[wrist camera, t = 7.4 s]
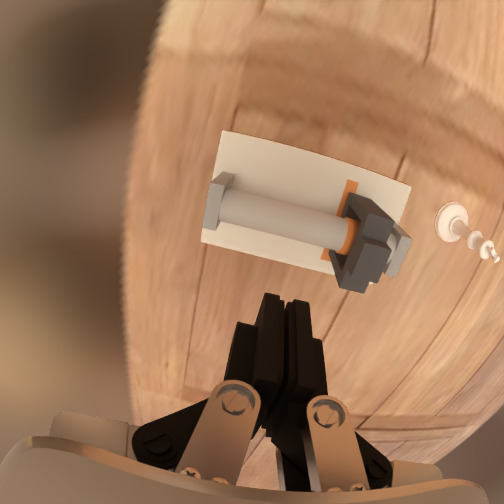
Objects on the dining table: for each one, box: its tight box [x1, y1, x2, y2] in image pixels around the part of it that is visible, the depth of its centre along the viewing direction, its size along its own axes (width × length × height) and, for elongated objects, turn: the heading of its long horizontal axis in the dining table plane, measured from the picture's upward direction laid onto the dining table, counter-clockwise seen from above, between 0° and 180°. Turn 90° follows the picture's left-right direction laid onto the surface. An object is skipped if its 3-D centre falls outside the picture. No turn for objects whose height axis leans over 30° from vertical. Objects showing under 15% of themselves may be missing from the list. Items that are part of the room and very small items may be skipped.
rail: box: [201, 130, 412, 284], centre depth 27 cm, size 20×12×7 cm, turn 77°
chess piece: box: [435, 202, 500, 263], centre depth 24 cm, size 5×5×10 cm
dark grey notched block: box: [328, 192, 395, 293], centre depth 25 cm, size 2×7×8 cm, turn 167°
